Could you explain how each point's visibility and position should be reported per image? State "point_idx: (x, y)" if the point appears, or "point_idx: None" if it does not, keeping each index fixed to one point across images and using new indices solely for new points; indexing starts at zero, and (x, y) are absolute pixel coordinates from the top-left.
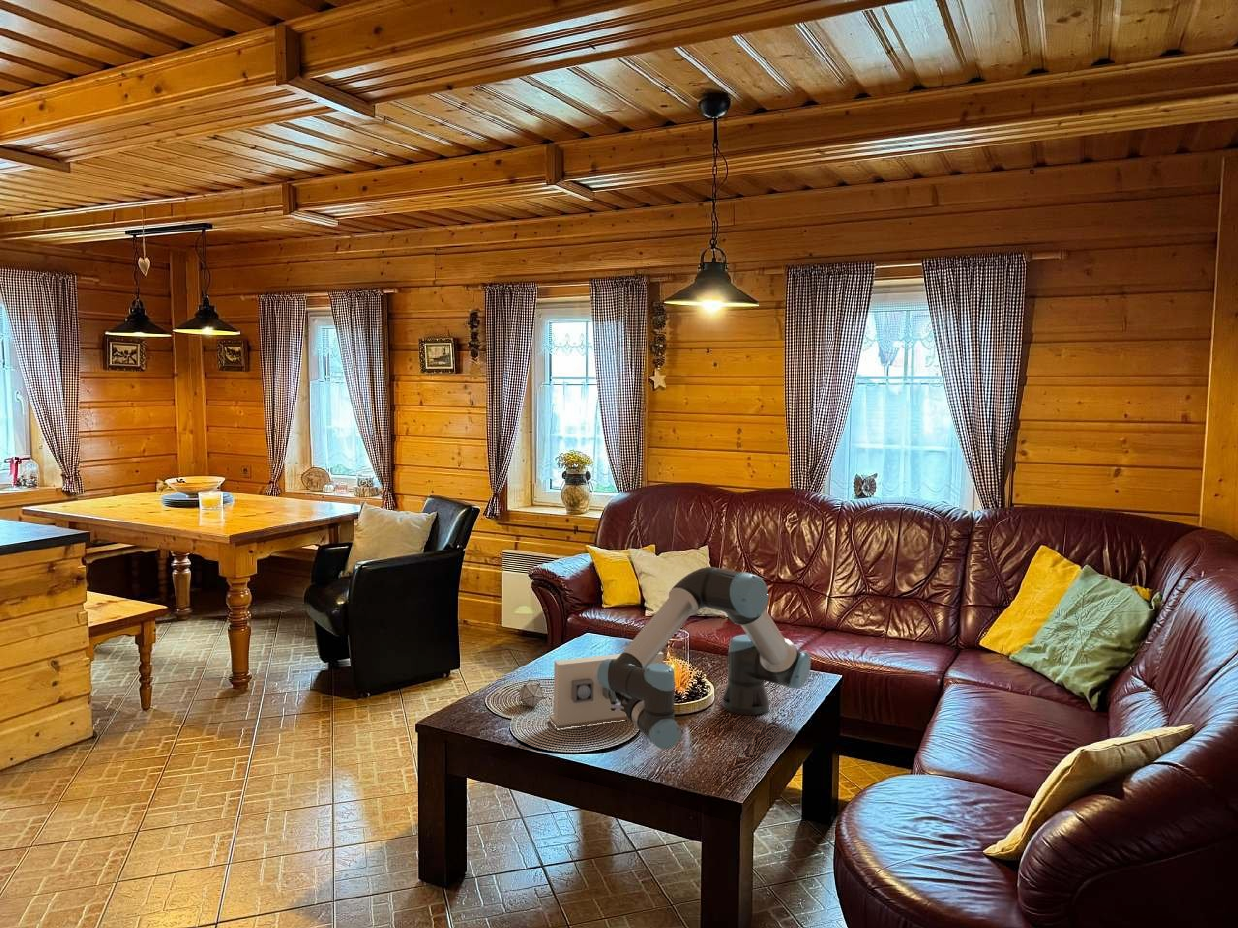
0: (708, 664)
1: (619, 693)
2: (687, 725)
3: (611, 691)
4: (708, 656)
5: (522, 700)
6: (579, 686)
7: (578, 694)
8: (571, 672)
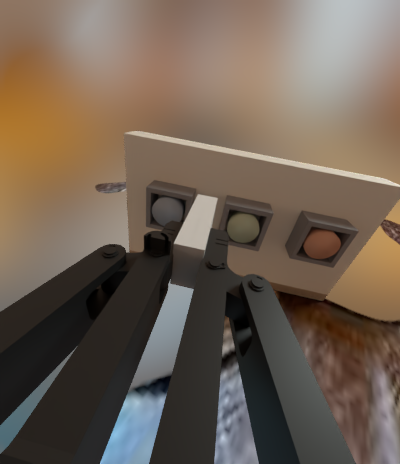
0: (392, 231)
1: (91, 333)
2: (382, 365)
3: (69, 277)
4: (389, 222)
5: None
6: (161, 197)
7: (153, 213)
8: (154, 161)
